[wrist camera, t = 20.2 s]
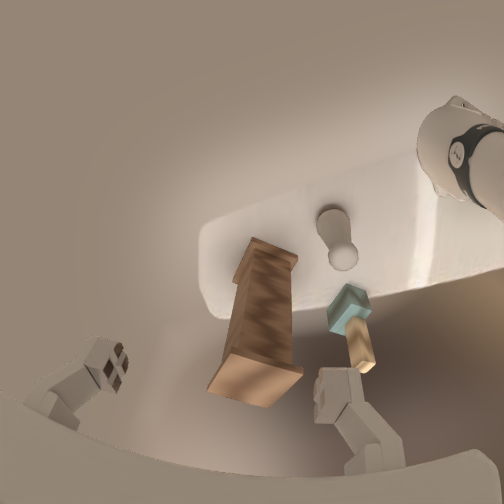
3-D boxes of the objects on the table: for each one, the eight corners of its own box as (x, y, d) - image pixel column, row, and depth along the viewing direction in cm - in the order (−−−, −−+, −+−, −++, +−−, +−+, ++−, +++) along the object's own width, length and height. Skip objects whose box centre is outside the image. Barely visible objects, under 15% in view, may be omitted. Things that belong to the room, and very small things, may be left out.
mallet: (384, 355, 42) (361, 349, 41) (357, 380, 46) (334, 375, 46) (365, 291, 56) (346, 283, 56) (345, 317, 61) (326, 310, 60)
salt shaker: (312, 208, 48) (320, 247, 37) (344, 201, 47) (362, 238, 36) (318, 237, 51) (327, 282, 40) (349, 230, 50) (366, 273, 39)
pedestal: (297, 255, 53) (303, 374, 31) (274, 293, 59) (267, 408, 37) (252, 237, 52) (230, 352, 30) (233, 277, 57) (206, 391, 35)
